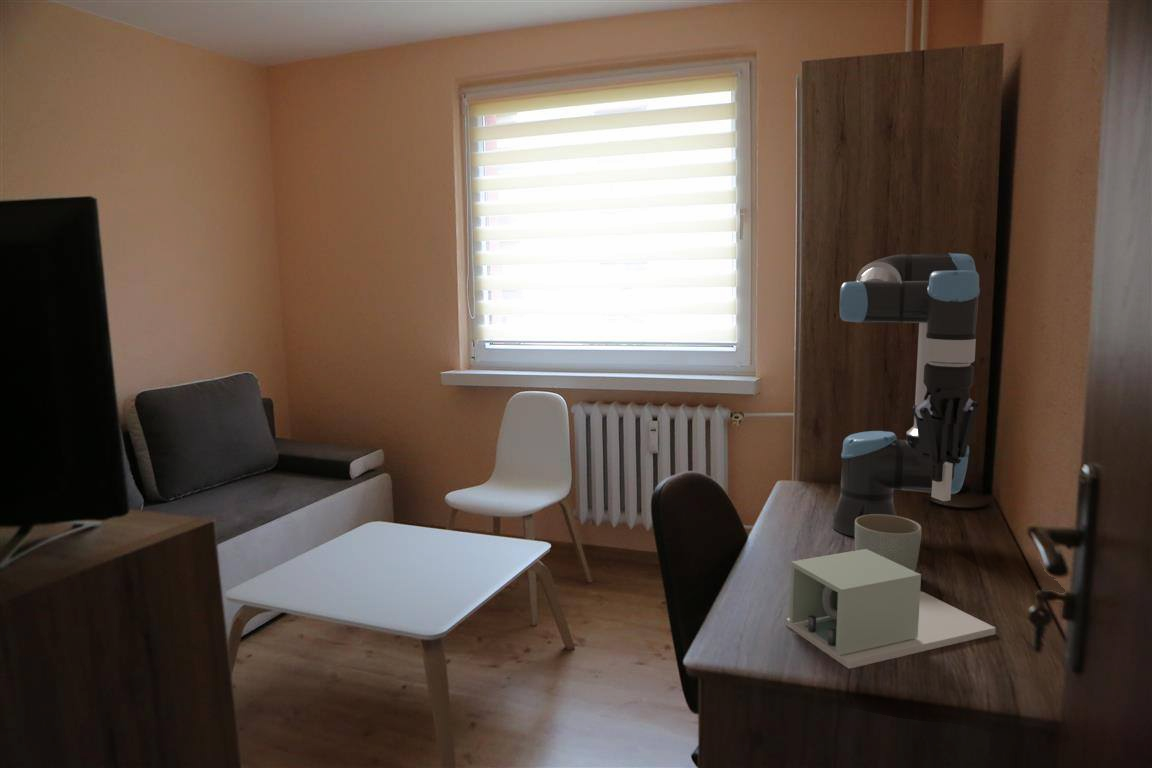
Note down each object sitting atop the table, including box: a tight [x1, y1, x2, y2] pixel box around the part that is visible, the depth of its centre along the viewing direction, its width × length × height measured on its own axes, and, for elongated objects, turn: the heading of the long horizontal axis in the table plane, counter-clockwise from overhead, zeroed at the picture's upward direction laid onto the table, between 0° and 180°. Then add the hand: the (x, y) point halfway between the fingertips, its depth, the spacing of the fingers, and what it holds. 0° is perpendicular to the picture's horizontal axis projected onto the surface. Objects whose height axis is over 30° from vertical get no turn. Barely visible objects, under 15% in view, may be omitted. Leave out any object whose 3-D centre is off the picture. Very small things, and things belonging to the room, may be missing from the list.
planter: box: [854, 514, 922, 572], centre depth 153 cm, size 12×12×11 cm
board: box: [785, 590, 996, 669], centre depth 130 cm, size 30×16×1 cm, turn 111°
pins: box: [808, 615, 836, 646], centre depth 127 cm, size 14×6×2 cm, turn 111°
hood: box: [789, 549, 922, 655], centre depth 126 cm, size 16×13×11 cm
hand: (940, 498), depth 131 cm, fingers closed
